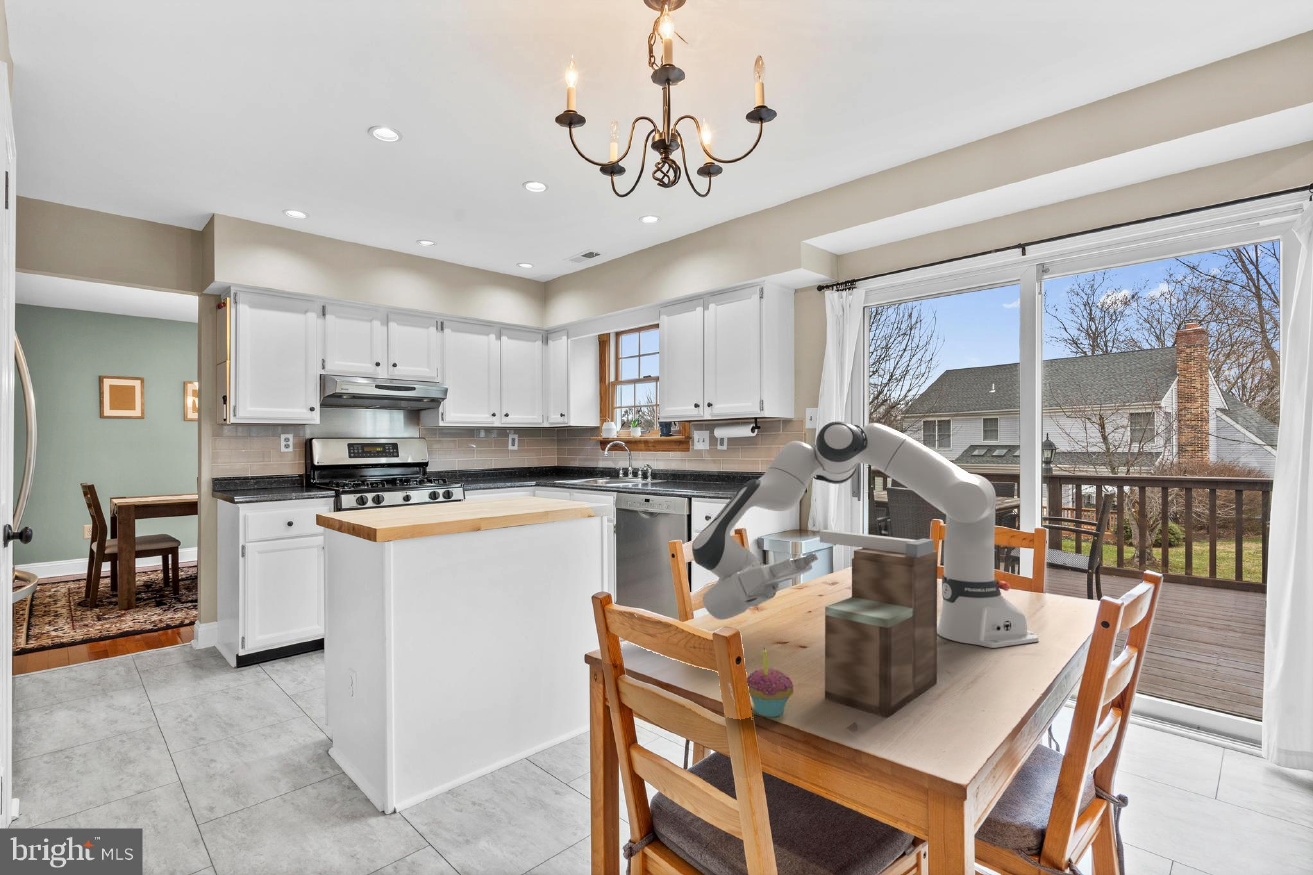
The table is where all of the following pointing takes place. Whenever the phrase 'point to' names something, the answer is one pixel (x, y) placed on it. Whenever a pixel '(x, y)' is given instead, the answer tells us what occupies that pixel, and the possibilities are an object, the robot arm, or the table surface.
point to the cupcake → (769, 690)
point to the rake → (879, 542)
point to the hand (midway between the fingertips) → (804, 558)
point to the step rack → (883, 633)
